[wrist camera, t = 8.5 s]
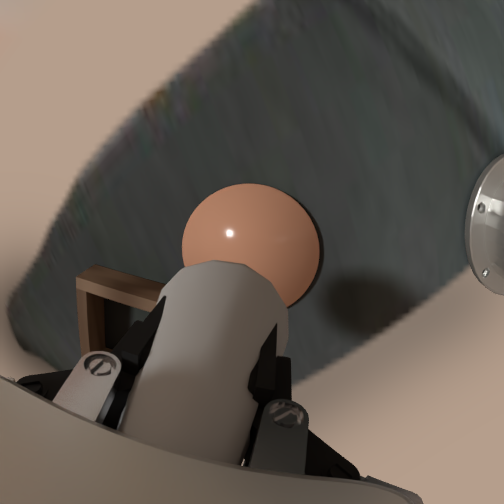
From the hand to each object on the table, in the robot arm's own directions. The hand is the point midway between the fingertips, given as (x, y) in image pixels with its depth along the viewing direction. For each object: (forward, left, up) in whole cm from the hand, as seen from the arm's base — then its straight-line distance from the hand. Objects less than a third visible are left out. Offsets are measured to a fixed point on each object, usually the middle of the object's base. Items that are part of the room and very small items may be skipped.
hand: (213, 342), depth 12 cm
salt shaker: (0, 0, -4) cm, 4 cm away
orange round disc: (0, 0, -12) cm, 12 cm away
